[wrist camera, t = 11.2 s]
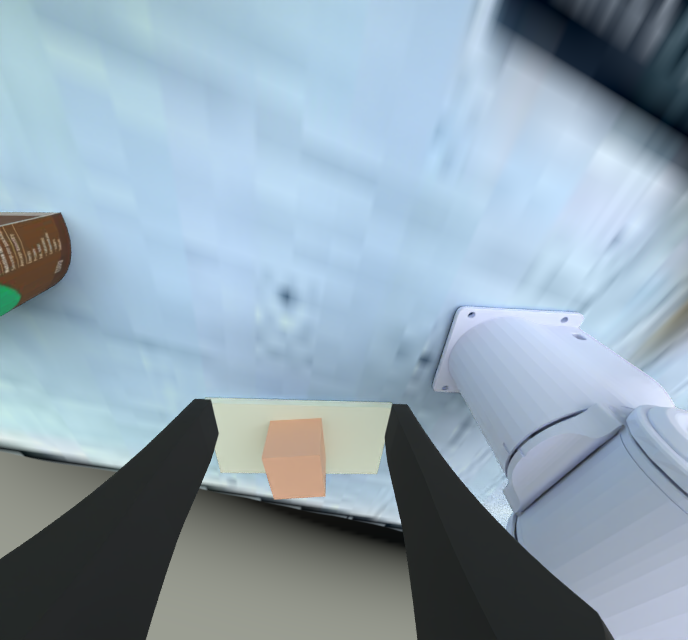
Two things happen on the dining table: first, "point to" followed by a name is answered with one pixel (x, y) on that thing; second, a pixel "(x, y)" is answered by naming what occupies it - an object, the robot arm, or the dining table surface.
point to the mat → (337, 418)
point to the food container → (31, 255)
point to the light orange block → (295, 458)
